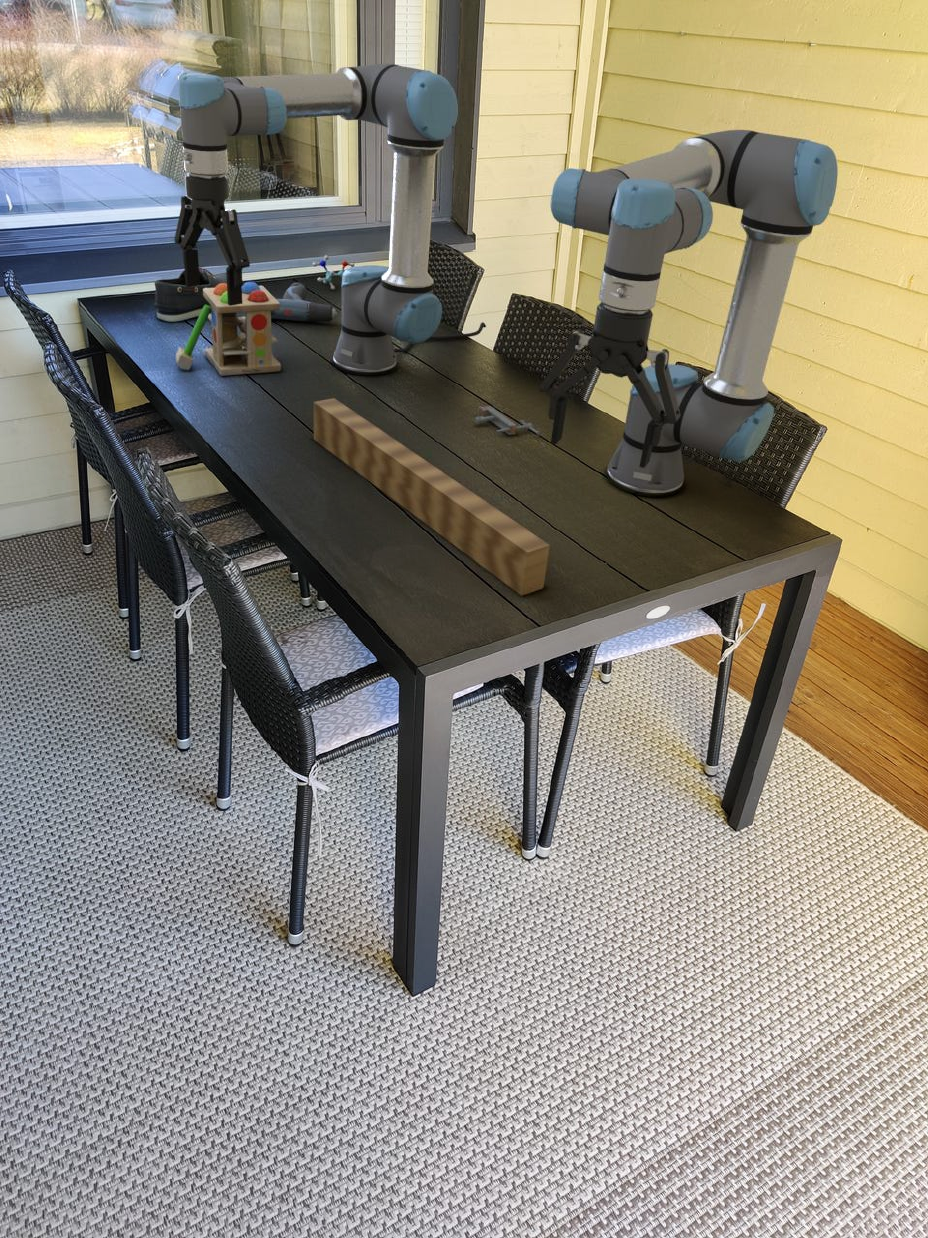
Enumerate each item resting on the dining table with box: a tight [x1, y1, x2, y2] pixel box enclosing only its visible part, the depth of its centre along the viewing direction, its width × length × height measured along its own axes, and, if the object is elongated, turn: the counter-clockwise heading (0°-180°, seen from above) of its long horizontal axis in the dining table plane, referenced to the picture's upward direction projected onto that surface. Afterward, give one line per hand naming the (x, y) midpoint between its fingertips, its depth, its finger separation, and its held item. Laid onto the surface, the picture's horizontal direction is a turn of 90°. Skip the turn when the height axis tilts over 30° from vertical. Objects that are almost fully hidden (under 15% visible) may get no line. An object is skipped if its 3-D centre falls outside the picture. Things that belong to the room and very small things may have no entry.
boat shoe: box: [153, 267, 244, 323], centre depth 262 cm, size 13×33×10 cm, turn 147°
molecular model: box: [312, 255, 356, 291], centre depth 288 cm, size 12×10×10 cm
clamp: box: [474, 405, 542, 437], centre depth 212 cm, size 15×2×10 cm
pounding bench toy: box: [174, 281, 282, 377], centre depth 225 cm, size 23×14×18 cm, turn 116°
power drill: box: [271, 282, 338, 322], centre depth 265 cm, size 5×19×20 cm
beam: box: [313, 397, 551, 597], centre depth 178 cm, size 67×5×8 cm, turn 37°
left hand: (213, 294), depth 186 cm, fingers open, 13 cm apart
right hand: (599, 452), depth 143 cm, fingers open, 13 cm apart
